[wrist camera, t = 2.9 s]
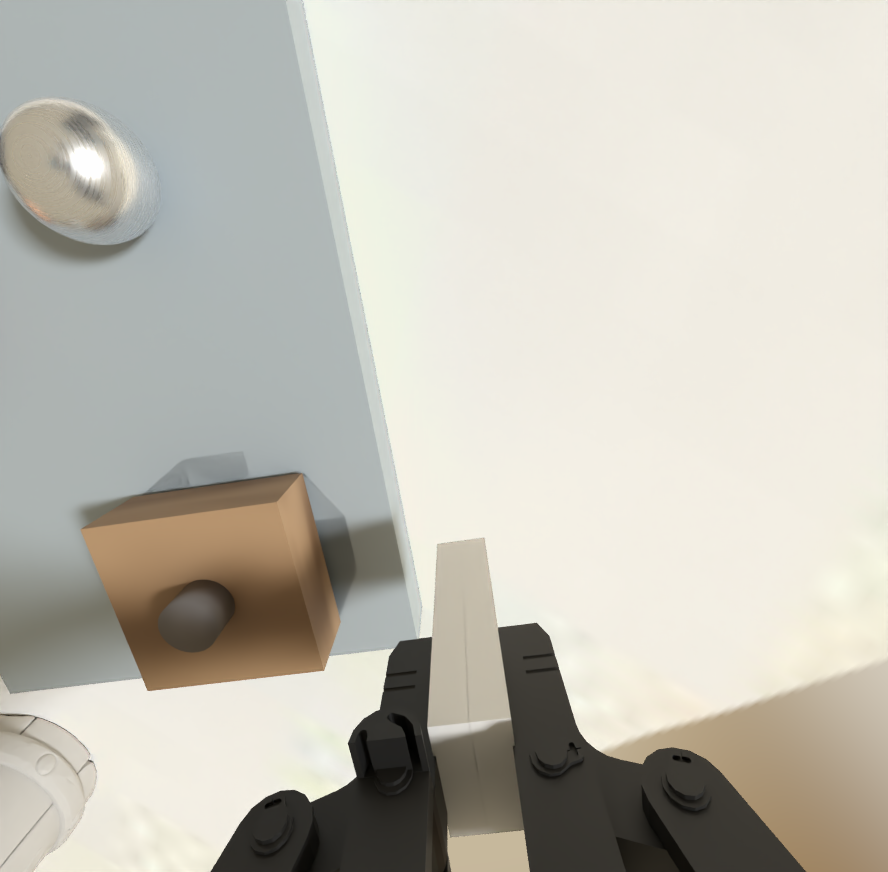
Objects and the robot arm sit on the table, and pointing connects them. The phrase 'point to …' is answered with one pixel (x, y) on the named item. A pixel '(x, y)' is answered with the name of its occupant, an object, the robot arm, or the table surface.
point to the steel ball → (79, 170)
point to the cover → (218, 582)
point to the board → (185, 325)
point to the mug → (39, 789)
